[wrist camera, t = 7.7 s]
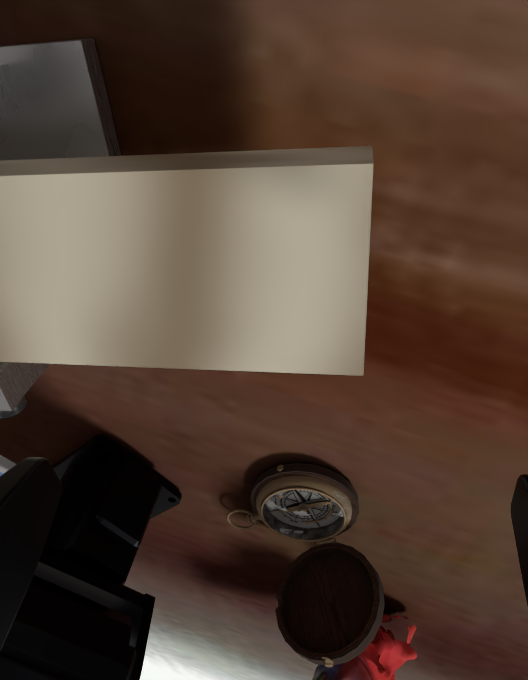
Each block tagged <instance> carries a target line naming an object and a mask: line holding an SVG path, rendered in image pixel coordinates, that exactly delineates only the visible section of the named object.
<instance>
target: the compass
mask: <svg viewBox="0 0 528 680" xmlns="http://www.w3.org/2000/svg"><path fill="white" fill-rule="evenodd" d="M250 503H251V506H252V510H253V513H251V512H249V511H247V510H243V509H235V510H232V511H230V512H229V513H228V514H227V520H228V522H229V523H230V524H231V525H232V526H234V527H236V528H238V529H251V528H254V527H255V526H256V525H257V520H260V521H261V522H262V523H263V524H265V525H266V526H267V527H269V528H270V529H272V530H273V531H274V532H276V533H278V534H280V535H281V536H284V537H287V538H289V539H293V540H298V541H308V542H312V541H315V544H316V546H314V547H312V548H310V549H309V550H307V551H305V552H304V553H302V554H301V555H299V556H298V557H297V559H296V560H295V561H294V562H293V563H292V564H291V565H290V566H289V567H288V569H287V571H286V573H285V574H284V576H283V578H282V580H281V583H280V586H279V589H278V592H277V597H276V598H277V599H278V607H277V608H276V616H277V622H278V627H279V629H280V631H281V633H282V635H283V637H284V639H285V641H286V642H287V643H288V644H289V645H290V646H291V648H292V649H293V650H294V651H295V652H296V653H298V654H299V655H300V656H301V657H303V658H305V659H307V660H309V661H311V662H313V663H315V664H319V665H325V666H326V667H333V665H337V664H341V663H345V662H348V661H350V660H351V659H353V658H355V657H356V656H358V655H359V654H361V653H362V652H363V651H364V650H365V649H366V648H367V646H368V645H369V644H370V643H371V642H372V641H373V639H374V638H375V635H376V633H377V631H378V629H379V627H380V625H381V622H382V617H383V611H384V605H385V604H384V593H383V587H382V584H381V581H380V579H379V576H378V573H377V572H376V570H375V569H374V568H373V567H372V565H371V564H370V563H369V561H368V560H367V559H366V557H365V556H364V555H363V554H361V553H360V552H359V551H357V550H356V549H354V548H353V547H350V546H347V545H344V544H341V543H337V542H336V538H331V537H333V536H337V535H339V534H341V533H343V532H345V531H346V530H348V529H349V528H350V527H351V526H352V525H353V524H354V523H355V522H356V519H357V516H358V513H359V504H358V496H357V493H356V491H355V490H354V488H353V486H352V484H350V483H349V482H348V481H347V480H346V479H345V478H344V477H343V476H341V475H339V474H337V473H335V472H333V471H332V470H330V469H327V468H324V467H321V466H317V465H313V464H304V463H293V464H285V465H279V466H277V467H274V468H271V469H269V470H267V471H266V472H264V473H263V474H262V475H260V476H259V477H258V478H257V480H256V481H255V483H254V485H253V488H252V493H251V501H250ZM234 512H244V513H247V515H246V521H247V522H248V523H251V522H255V523H254V524H253V525H252V526H249V527H242V526H238V525H235V524H233V523H232V522H231V521H230V519H229V516H230V515H231V514H232V513H234Z"/></svg>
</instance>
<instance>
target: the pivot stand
mask: <svg viewBox="0 0 528 680" xmlns="http://www.w3.org/2000/svg"><path fill="white" fill-rule="evenodd" d="M106 156H121V152H120V148H119V144H118V139H117V135H116V131H115V126H114V122H113V118H112V114H111V109H110V105H109V101H108V96H107V92H106V88H105V84H104V79H103V75H102V71H101V66H100V62H99V58H98V53H97V49H96V45H95V41H94V38H86V39H74V40H62V41H51V42H39V43H27V44H15V45H4V46H0V161H4V160H30V159H55V158H80V157H106ZM48 365H49V364H48V363H22V362H0V418H9V417H12V416H14V415H16V414H18V413H20V412H21V411H22V410H23V409H24V408H25V407H26V404H27V401H26V399H25V396H24V395H25V394H26V393H27V391H28V390H29V389H30V388H31V386H32V385H33V384H34V383H35V381H36V380H37V379H38V378H39V376H40V375H41V374H42V373H43V371H44V370H45V369H46V368H47V366H48Z"/></svg>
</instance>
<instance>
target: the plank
mask: <svg viewBox="0 0 528 680" xmlns="http://www.w3.org/2000/svg"><path fill="white" fill-rule="evenodd" d="M372 181H373V152H372V146H359V147H334V148H308V149H283V150H258V151H232V152H207V153H182V154H156V155H131V156H106V157H80V158H55V159H30V160H4V161H0V362H22V363H48V364H74V365H100V366H126V367H152V368H178V369H204V370H230V371H256V372H282V373H308V374H334V375H359V376H363V372H364V351H365V330H366V309H367V288H368V266H369V245H370V224H371V203H372Z"/></svg>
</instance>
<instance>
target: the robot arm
mask: <svg viewBox="0 0 528 680" xmlns="http://www.w3.org/2000/svg"><path fill="white" fill-rule="evenodd" d="M181 497H182V495H181V493H180V492H179V491H178V490H176V489H175V488H174V487H172V486H171V485H170V484H168V483H167V482H166V481H164V480H163V479H162V478H160V477H159V476H158V475H157V474H155V473H154V472H153V471H151V470H150V469H149V468H147V467H146V466H145V465H143V464H142V463H141V462H139V461H138V460H137V459H135V458H134V457H133V456H131V455H130V454H129V453H127V452H126V451H125V450H123V449H122V448H121V447H119V446H118V445H117V444H115V443H114V442H113V441H111V440H110V439H109V438H107V437H106V436H103V435H97V436H95V437H94V438H92V439H91V440H89V441H88V442H87V443H85V444H84V445H82V446H81V447H79V448H78V449H77V450H75V451H74V452H72V453H71V454H69V455H68V456H67V457H65V458H64V459H62V460H61V461H59V462H58V463H57V464H55V465H54V466H52V465H51V463H50V461H49V460H48V459H47V458H44V457H27V458H25V459H23V460H22V461H20V462H19V463H18V464H16V465H15V466H13V467H12V468H11V469H9V470H8V471H7V472H5V473H4V474H2V475H1V476H0V680H139V679H140V675H141V671H142V666H143V660H144V655H145V650H146V645H147V639H148V634H149V629H150V623H151V618H152V613H153V608H154V602H155V597H153V596H151V595H149V594H142V593H140V592H137V591H135V590H133V589H131V588H129V587H126V586H124V584H125V581H126V579H127V576H128V574H129V571H130V568H131V566H132V563H133V561H134V558H135V555H136V553H137V550H138V547H139V545H140V543H141V541H142V538H143V535H144V533H145V530H146V528H147V525H148V522H149V520H150V519H151V518H153V517H155V516H157V515H158V514H160V513H162V512H164V511H166V510H168V509H170V508H172V507H174V506H176V505H178V504H179V503H180V500H181ZM511 518H512V523H513V529H514V535H515V540H516V546H517V551H518V557H519V562H520V568H521V573H522V579H523V584H524V590H525V595H526V600H527V605H528V475H526V474H523V475H520V476H519V478H518V480H517V483H516V487H515V491H514V495H513V499H512V503H511Z"/></svg>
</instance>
